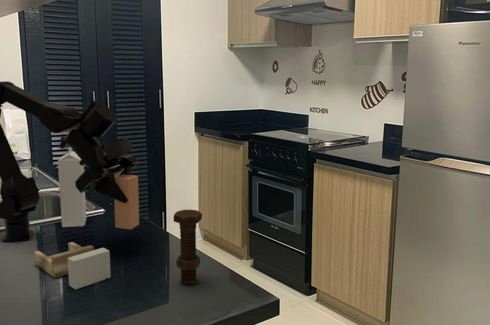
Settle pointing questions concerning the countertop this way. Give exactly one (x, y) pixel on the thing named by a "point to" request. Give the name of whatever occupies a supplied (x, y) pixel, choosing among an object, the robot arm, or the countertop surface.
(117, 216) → the orange rectangular block
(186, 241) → the bolt
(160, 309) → the countertop surface
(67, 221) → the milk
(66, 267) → the cradle
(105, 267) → the stop block
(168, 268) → the countertop surface
